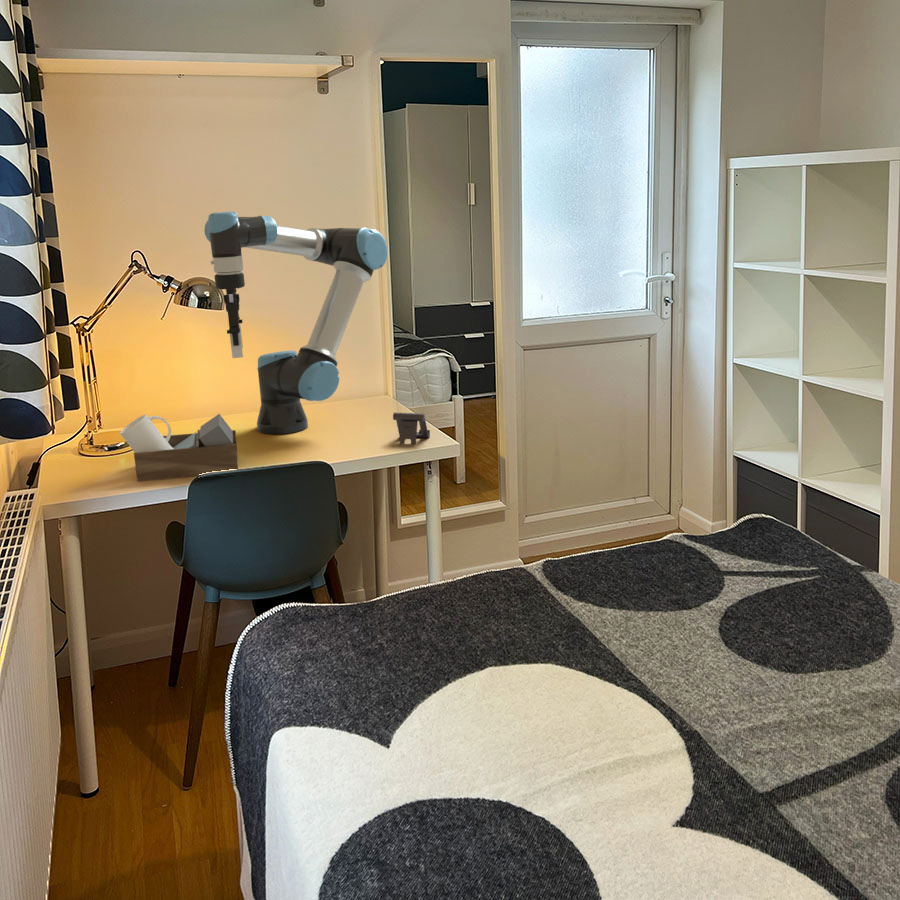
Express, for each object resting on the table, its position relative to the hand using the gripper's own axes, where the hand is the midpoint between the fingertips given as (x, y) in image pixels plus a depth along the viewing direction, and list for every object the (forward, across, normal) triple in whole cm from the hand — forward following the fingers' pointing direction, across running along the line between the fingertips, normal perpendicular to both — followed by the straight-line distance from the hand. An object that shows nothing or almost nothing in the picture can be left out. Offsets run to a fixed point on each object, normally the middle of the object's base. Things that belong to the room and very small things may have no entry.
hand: (237, 352), depth 264 cm
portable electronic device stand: (+29, +1, +45) cm, 54 cm away
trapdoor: (+26, +11, -13) cm, 31 cm away
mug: (+24, +10, -21) cm, 33 cm away
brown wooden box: (+27, +11, -15) cm, 33 cm away
